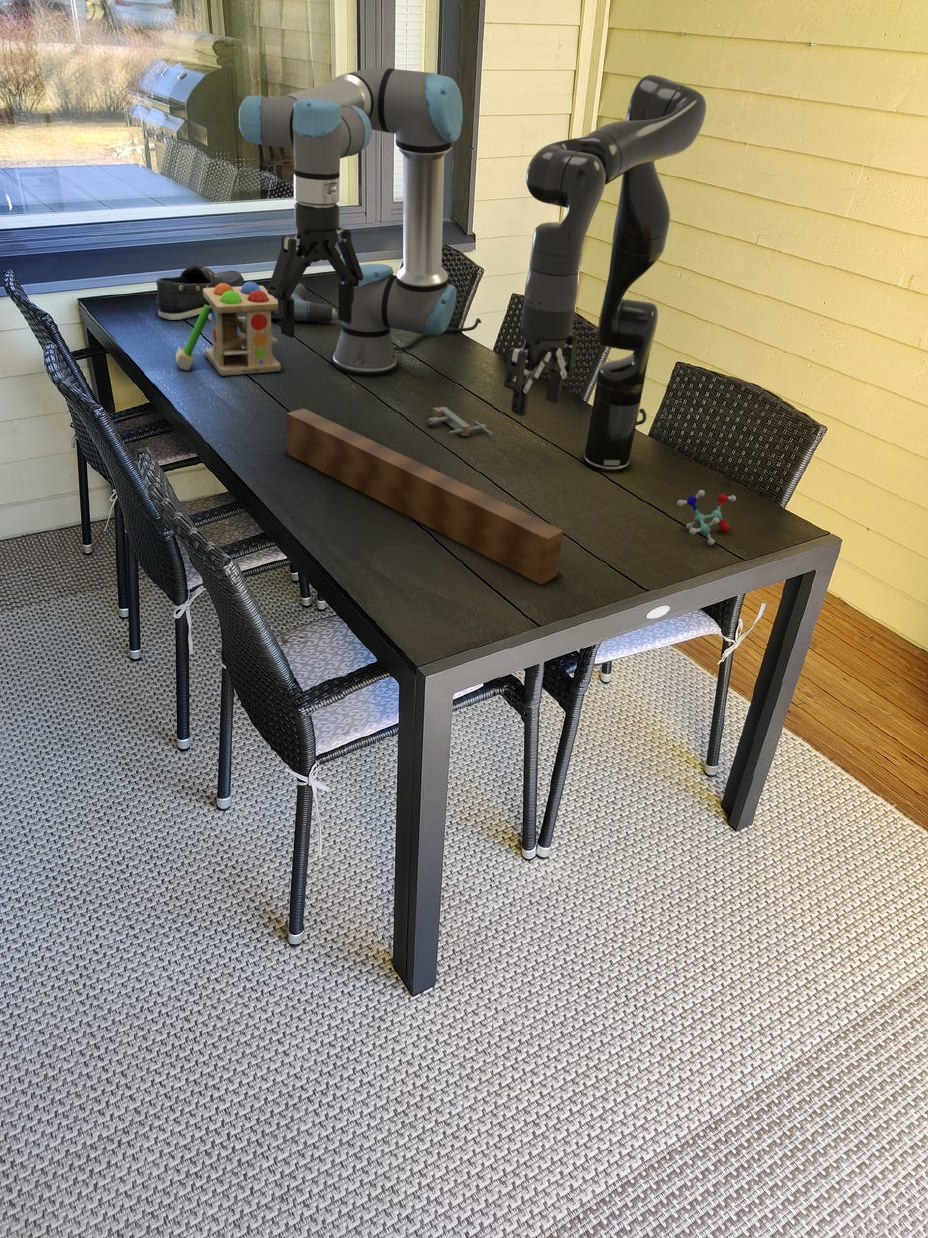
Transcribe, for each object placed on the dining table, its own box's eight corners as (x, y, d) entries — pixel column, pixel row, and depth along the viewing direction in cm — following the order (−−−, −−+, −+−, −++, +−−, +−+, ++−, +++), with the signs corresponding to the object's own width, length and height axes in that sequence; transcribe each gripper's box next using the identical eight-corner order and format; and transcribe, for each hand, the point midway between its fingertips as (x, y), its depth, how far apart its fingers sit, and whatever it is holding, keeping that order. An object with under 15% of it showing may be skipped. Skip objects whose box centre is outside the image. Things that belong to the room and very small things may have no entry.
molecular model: (741, 539, 172) (725, 484, 171) (688, 553, 176) (672, 500, 174) (745, 528, 183) (730, 477, 181) (695, 542, 186) (680, 492, 185)
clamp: (420, 409, 212) (460, 403, 217) (420, 418, 213) (460, 412, 218) (454, 436, 202) (496, 430, 206) (454, 446, 203) (495, 439, 208)
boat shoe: (264, 299, 275) (261, 260, 270) (175, 322, 251) (171, 280, 246) (230, 290, 281) (227, 253, 275) (140, 312, 257) (136, 271, 251)
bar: (287, 454, 194) (286, 413, 189) (303, 448, 196) (303, 407, 191) (541, 584, 161) (548, 539, 156) (556, 575, 164) (563, 530, 159)
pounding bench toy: (183, 379, 220) (176, 299, 210) (169, 357, 231) (162, 280, 221) (282, 371, 230) (280, 294, 220) (264, 350, 240) (262, 276, 230)
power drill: (344, 304, 276) (335, 327, 259) (277, 298, 275) (264, 321, 258) (344, 285, 273) (335, 306, 256) (277, 279, 272) (264, 300, 255)
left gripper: (273, 215, 155) (276, 347, 166) (385, 199, 171) (381, 321, 183) (243, 205, 158) (248, 335, 170) (355, 191, 175) (353, 310, 187)
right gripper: (540, 316, 135) (526, 427, 144) (599, 299, 144) (582, 404, 153) (498, 302, 138) (487, 411, 148) (558, 286, 148) (544, 389, 157)
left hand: (317, 328), depth 176 cm, fingers open, 13 cm apart
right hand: (535, 407), depth 150 cm, fingers open, 8 cm apart
